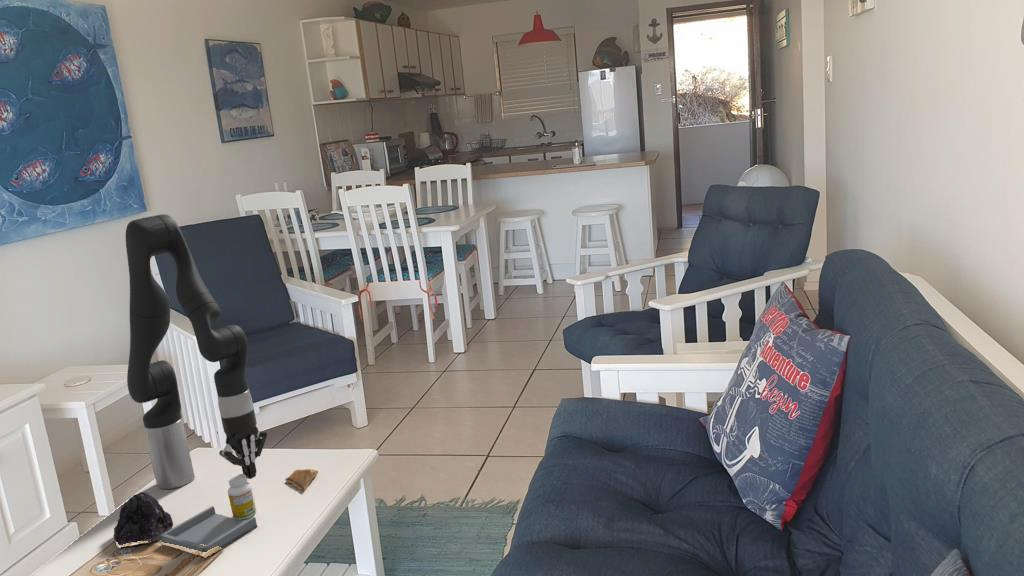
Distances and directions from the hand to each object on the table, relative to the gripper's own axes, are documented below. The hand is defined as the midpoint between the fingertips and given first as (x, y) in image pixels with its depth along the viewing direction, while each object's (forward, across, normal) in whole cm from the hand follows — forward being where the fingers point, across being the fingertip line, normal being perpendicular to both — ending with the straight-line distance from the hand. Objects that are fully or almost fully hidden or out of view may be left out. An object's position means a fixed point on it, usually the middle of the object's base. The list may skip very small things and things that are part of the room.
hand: (250, 477), depth 189 cm
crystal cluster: (+8, +19, -17) cm, 27 cm away
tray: (+8, +14, 0) cm, 16 cm away
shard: (+9, -16, +1) cm, 18 cm away
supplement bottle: (+8, +4, 0) cm, 9 cm away
